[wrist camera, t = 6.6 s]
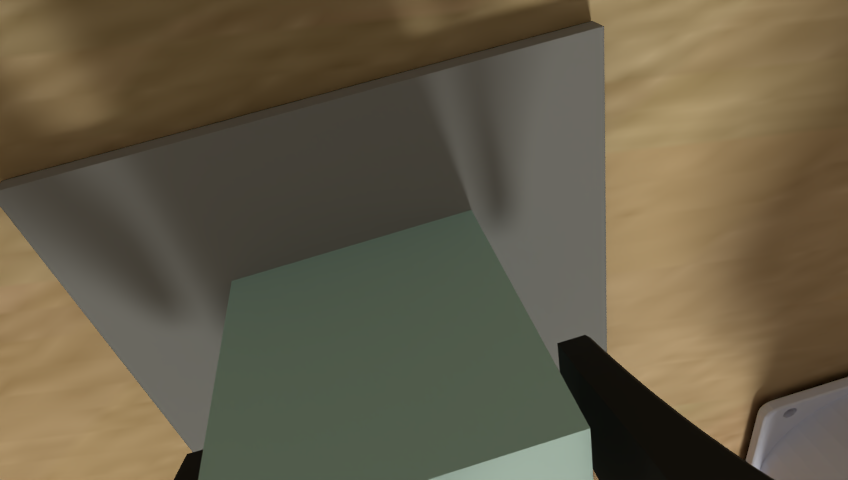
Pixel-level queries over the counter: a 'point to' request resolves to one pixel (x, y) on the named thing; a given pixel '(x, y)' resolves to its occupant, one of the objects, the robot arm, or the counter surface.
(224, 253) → the charcoal mat
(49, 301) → the counter surface
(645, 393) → the robot arm
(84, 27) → the counter surface
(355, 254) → the teal cover
